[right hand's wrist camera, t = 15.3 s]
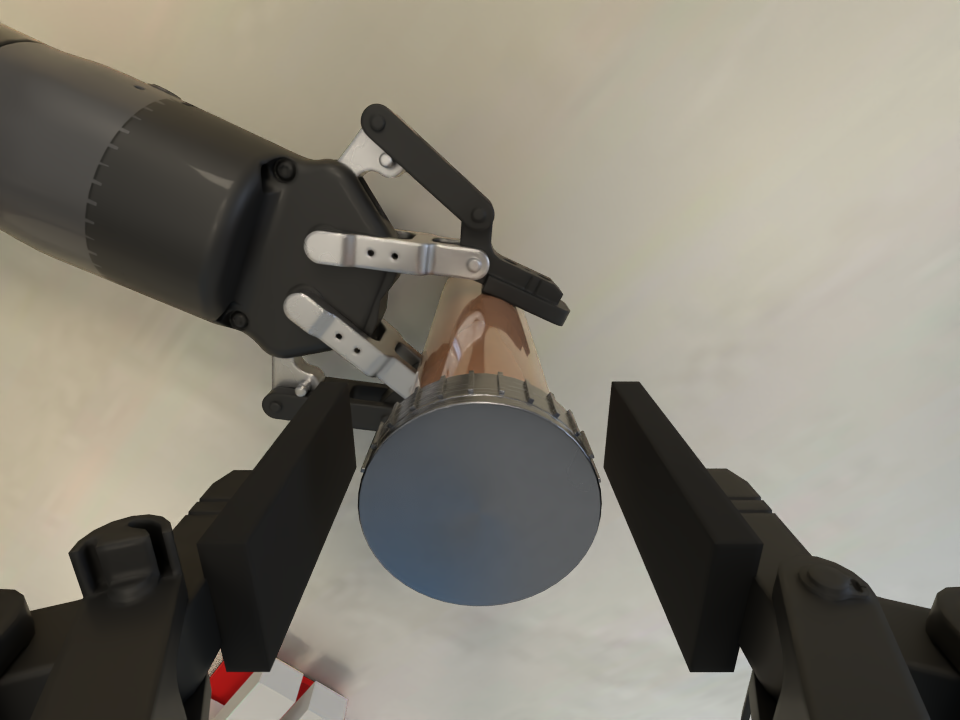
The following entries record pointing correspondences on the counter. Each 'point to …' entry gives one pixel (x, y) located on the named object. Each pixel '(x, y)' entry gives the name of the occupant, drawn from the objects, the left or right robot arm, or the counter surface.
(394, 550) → the lid
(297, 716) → the toy
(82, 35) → the counter surface
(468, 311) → the jar
